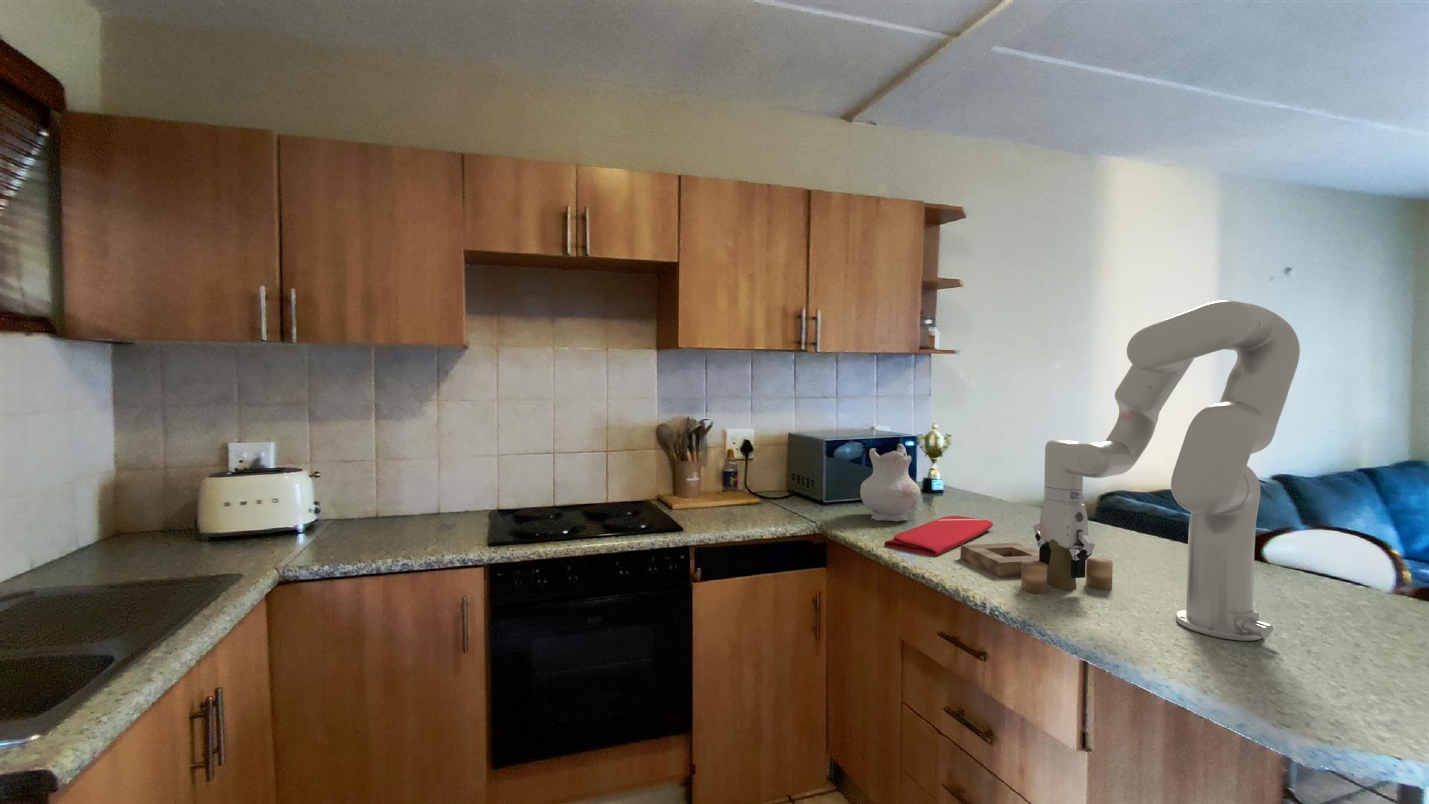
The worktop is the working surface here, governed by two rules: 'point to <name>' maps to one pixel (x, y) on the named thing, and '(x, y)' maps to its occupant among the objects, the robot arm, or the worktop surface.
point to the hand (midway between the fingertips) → (1061, 570)
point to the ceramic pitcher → (890, 486)
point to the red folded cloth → (939, 535)
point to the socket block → (999, 557)
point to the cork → (1060, 568)
